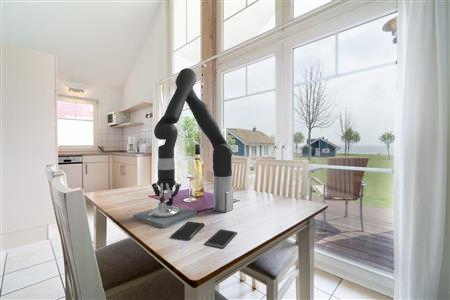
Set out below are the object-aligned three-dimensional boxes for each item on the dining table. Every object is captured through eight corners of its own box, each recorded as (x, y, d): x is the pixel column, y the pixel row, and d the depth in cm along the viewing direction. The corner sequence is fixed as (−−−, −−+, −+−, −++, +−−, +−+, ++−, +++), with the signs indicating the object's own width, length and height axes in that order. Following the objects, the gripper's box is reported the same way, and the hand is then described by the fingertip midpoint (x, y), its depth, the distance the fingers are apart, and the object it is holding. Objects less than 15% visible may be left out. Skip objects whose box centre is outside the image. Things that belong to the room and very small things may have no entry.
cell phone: (203, 245, 73) (203, 243, 73) (220, 230, 86) (220, 228, 86) (223, 250, 70) (223, 248, 70) (238, 233, 83) (238, 231, 83)
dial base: (196, 214, 103) (196, 211, 103) (163, 228, 86) (163, 224, 86) (167, 207, 114) (167, 204, 114) (133, 218, 97) (133, 214, 97)
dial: (166, 207, 108) (166, 196, 108) (184, 211, 102) (184, 200, 102) (139, 216, 95) (139, 203, 95) (158, 221, 89) (158, 208, 89)
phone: (205, 223, 90) (190, 238, 76) (205, 226, 90) (189, 241, 76) (187, 221, 92) (169, 235, 78) (187, 224, 92) (169, 238, 78)
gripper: (183, 167, 102) (184, 203, 103) (155, 166, 104) (156, 202, 105) (177, 169, 95) (178, 208, 95) (147, 168, 97) (148, 207, 98)
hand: (166, 205), depth 100 cm, fingers closed on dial, 3 cm apart
